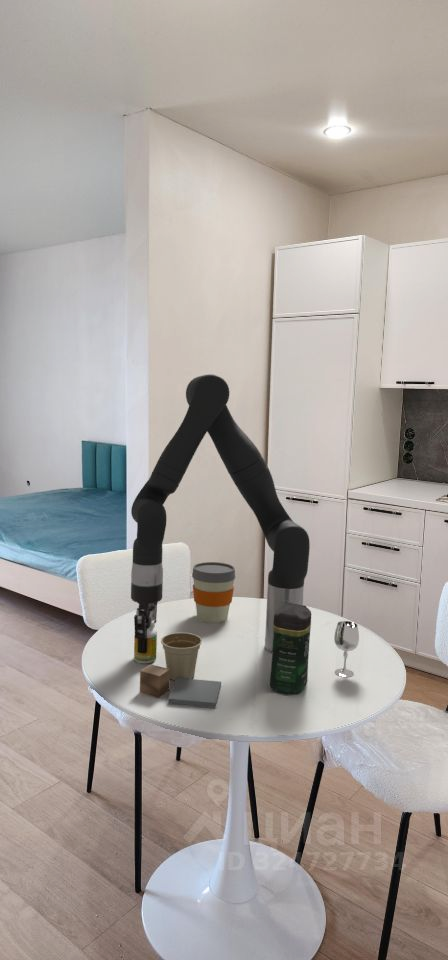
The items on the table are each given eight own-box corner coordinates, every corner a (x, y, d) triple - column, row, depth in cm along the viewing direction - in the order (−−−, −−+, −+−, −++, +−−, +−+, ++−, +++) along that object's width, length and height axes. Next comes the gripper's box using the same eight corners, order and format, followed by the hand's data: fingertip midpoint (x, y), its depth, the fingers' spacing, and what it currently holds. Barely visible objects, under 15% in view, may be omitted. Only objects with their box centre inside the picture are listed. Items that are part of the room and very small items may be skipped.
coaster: (221, 686, 141) (221, 681, 141) (215, 708, 131) (215, 702, 131) (177, 682, 142) (177, 677, 142) (168, 703, 133) (168, 698, 132)
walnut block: (169, 690, 139) (169, 669, 138) (159, 698, 135) (159, 676, 134) (150, 685, 141) (150, 664, 140) (139, 692, 137) (140, 670, 137)
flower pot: (169, 688, 140) (170, 650, 139) (153, 671, 148) (154, 635, 147) (207, 680, 144) (209, 644, 143) (190, 664, 152) (191, 630, 151)
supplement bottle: (154, 664, 152) (155, 625, 150) (132, 663, 152) (133, 624, 150) (157, 655, 157) (158, 617, 156) (135, 654, 157) (136, 616, 156)
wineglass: (358, 670, 153) (361, 622, 151) (354, 679, 147) (358, 630, 146) (334, 666, 155) (337, 618, 153) (330, 675, 149) (333, 626, 148)
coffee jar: (300, 699, 137) (305, 616, 134) (265, 692, 139) (269, 611, 137) (311, 681, 146) (315, 603, 143) (277, 675, 148) (281, 598, 146)
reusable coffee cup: (240, 614, 189) (242, 565, 187) (222, 627, 177) (225, 575, 175) (202, 607, 194) (204, 559, 192) (183, 620, 182) (184, 569, 180)
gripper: (155, 590, 144) (153, 661, 146) (168, 573, 158) (166, 638, 161) (123, 588, 145) (122, 658, 147) (139, 571, 159) (137, 635, 161)
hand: (145, 647), depth 154 cm, fingers closed on supplement bottle, 5 cm apart
